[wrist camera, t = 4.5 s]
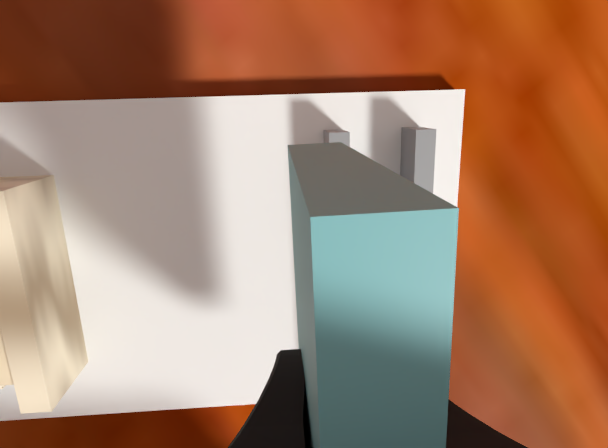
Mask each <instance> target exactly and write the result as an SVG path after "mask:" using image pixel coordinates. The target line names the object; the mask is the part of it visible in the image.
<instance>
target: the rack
mask: <svg viewBox="0 0 608 448" xmlns="http://www.w3.org/2000/svg"><path fill="white" fill-rule="evenodd" d="M464 98H465V89H458V90H423V91H388V92H353V93H318V94H283V95H247V96H212V97H177V98H142V99H107V100H71V101H36V102H1V103H0V177H15V176H42V175H54V179H55V185H56V190H57V195H58V201H59V206H60V211H61V217H62V222H63V228H64V233H65V238H66V244H67V249H68V254H69V260H70V265H71V271H72V276H73V281H74V287H75V292H76V298H77V303H78V308H79V314H80V319H81V324H82V330H83V335H84V341H85V346H86V351H87V357H88V363H87V364H86V366H85V367H84V368H83V370H82V371H81V372H80V374H79V375H78V376H77V378H76V379H75V381H74V382H73V383H72V385H71V386H70V387H69V389H68V390H67V392H66V393H65V394H64V396H63V397H62V398H61V400H60V401H59V402H58V404H57V405H56V407H55V408H54V409H53V411H52V412H39V413H24V414H21V412H20V408H19V404H18V400H17V396H16V392H15V388H14V385H6V386H5V387H4V388H3V389H0V421H8V420H23V419H37V418H52V417H67V416H82V415H97V414H112V413H127V412H142V411H157V410H172V409H187V408H201V407H216V406H231V405H246V404H256V403H257V401H258V400H259V398H260V396H261V394H262V392H263V390H264V387H265V385H266V383H267V381H268V379H269V377H270V374H271V372H272V369H273V367H274V364H275V360H276V356H277V354H278V353H279V352H280V351H281V350H291V349H299V345H298V327H297V309H296V290H295V272H294V254H293V235H292V217H291V199H290V180H289V162H288V145H295V144H314V143H334V142H342V143H344V144H345V145H347V146H349V147H351V148H352V149H354V150H356V151H358V152H360V153H361V154H363V155H365V156H367V157H368V158H370V159H372V160H374V161H376V162H377V163H379V164H381V165H383V166H385V167H386V168H388V169H390V170H392V171H393V172H395V173H397V174H399V175H401V176H402V177H404V178H406V179H408V180H409V181H411V182H413V183H415V184H417V185H418V186H420V187H422V188H424V189H426V190H427V191H429V192H431V193H433V194H434V195H436V196H438V197H440V198H442V199H443V200H445V201H447V202H449V203H450V204H452V205H454V206H456V207H457V200H458V185H459V171H460V156H461V142H462V127H463V112H464Z"/></svg>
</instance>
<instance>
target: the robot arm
mask: <svg viewBox="0 0 608 448" xmlns="http://www.w3.org/2000/svg"><path fill="white" fill-rule="evenodd" d="M228 448H308V431H307V411H306V392H305V376H304V368H303V360H302V353H301V349H291V350H281V351H280V352H279V353H278V354H277V356H276V360H275V364H274V367H273V369H272V372H271V374H270V377H269V379H268V381H267V383H266V385H265V387H264V390H263V392H262V394H261V396H260V398H259V400H258V401H257V403H256V405H255V407H254V408H253V410H252V412H251V413H250V415H249V417H248V419H247V420H246V422H245V424H244V425H243V427H242V428H241V430H240V431H239V433H238V434H237V436H236V437H235V438H234V440H233V441H232V443H231V444H230V445H229V447H228ZM446 448H527V447H526V446H524V445H522V444H520V443H518V442H516V441H514V440H512V439H510V438H508V437H507V436H505V435H503V434H501V433H499V432H498V431H496V430H494V429H493V428H491V427H489V426H488V425H486V424H484V423H483V422H481V421H480V420H478V419H476V418H475V417H473V416H472V415H470V414H469V413H467V412H466V411H464V410H463V409H461V408H460V407H458V406H457V405H455V404H454V403H453V402H451V401H450V400H449V399H448V416H447V435H446Z"/></svg>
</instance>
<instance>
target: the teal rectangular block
mask: <svg viewBox="0 0 608 448" xmlns="http://www.w3.org/2000/svg"><path fill="white" fill-rule="evenodd" d="M288 162H289V180H290V199H291V217H292V235H293V254H294V272H295V290H296V309H297V327H298V345H299V349H301V353H302V360H303V368H304V376H305V392H306V411H307V431H308V448H446V435H447V416H448V398H449V379H450V361H451V342H452V324H453V305H454V286H455V268H456V249H457V231H458V212H459V208H458V207H456V206H454V205H452V204H450V203H449V202H447V201H445V200H443V199H442V198H440V197H438V196H436V195H434V194H433V193H431V192H429V191H427V190H426V189H424V188H422V187H420V186H418V185H417V184H415V183H413V182H411V181H409V180H408V179H406V178H404V177H402V176H401V175H399V174H397V173H395V172H393V171H392V170H390V169H388V168H386V167H385V166H383V165H381V164H379V163H377V162H376V161H374V160H372V159H370V158H368V157H367V156H365V155H363V154H361V153H360V152H358V151H356V150H354V149H352V148H351V147H349V146H347V145H345V144H344V143H342V142H334V143H314V144H295V145H288Z"/></svg>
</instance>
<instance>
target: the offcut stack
mask: <svg viewBox="0 0 608 448" xmlns="http://www.w3.org/2000/svg"><path fill="white" fill-rule="evenodd" d="M87 363H88V357H87V351H86V346H85V341H84V335H83V330H82V324H81V319H80V314H79V308H78V303H77V298H76V292H75V287H74V281H73V276H72V271H71V265H70V260H69V254H68V249H67V244H66V238H65V233H64V228H63V222H62V217H61V211H60V206H59V201H58V195H57V190H56V185H55V179H54V175H42V176H15V177H0V389H3V388H4V387H5V386H6V385H14V388H15V392H16V396H17V400H18V404H19V408H20V412H21V414H24V413H39V412H52V411H53V409H54V408H55V407H56V405H57V404H58V402H59V401H60V400H61V398H62V397H63V396H64V394H65V393H66V392H67V390H68V389H69V387H70V386H71V385H72V383H73V382H74V381H75V379H76V378H77V376H78V375H79V374H80V372H81V371H82V370H83V368H84V367H85V366H86V364H87Z"/></svg>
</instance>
